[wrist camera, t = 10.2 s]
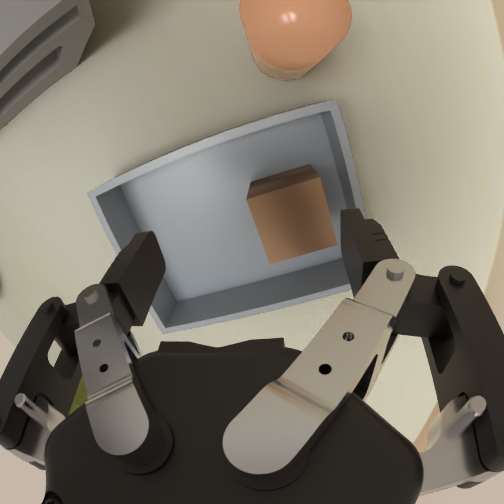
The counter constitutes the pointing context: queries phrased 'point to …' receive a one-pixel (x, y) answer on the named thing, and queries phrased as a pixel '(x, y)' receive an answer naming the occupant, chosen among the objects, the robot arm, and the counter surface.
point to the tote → (232, 217)
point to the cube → (291, 213)
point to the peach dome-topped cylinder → (293, 33)
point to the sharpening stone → (38, 47)
